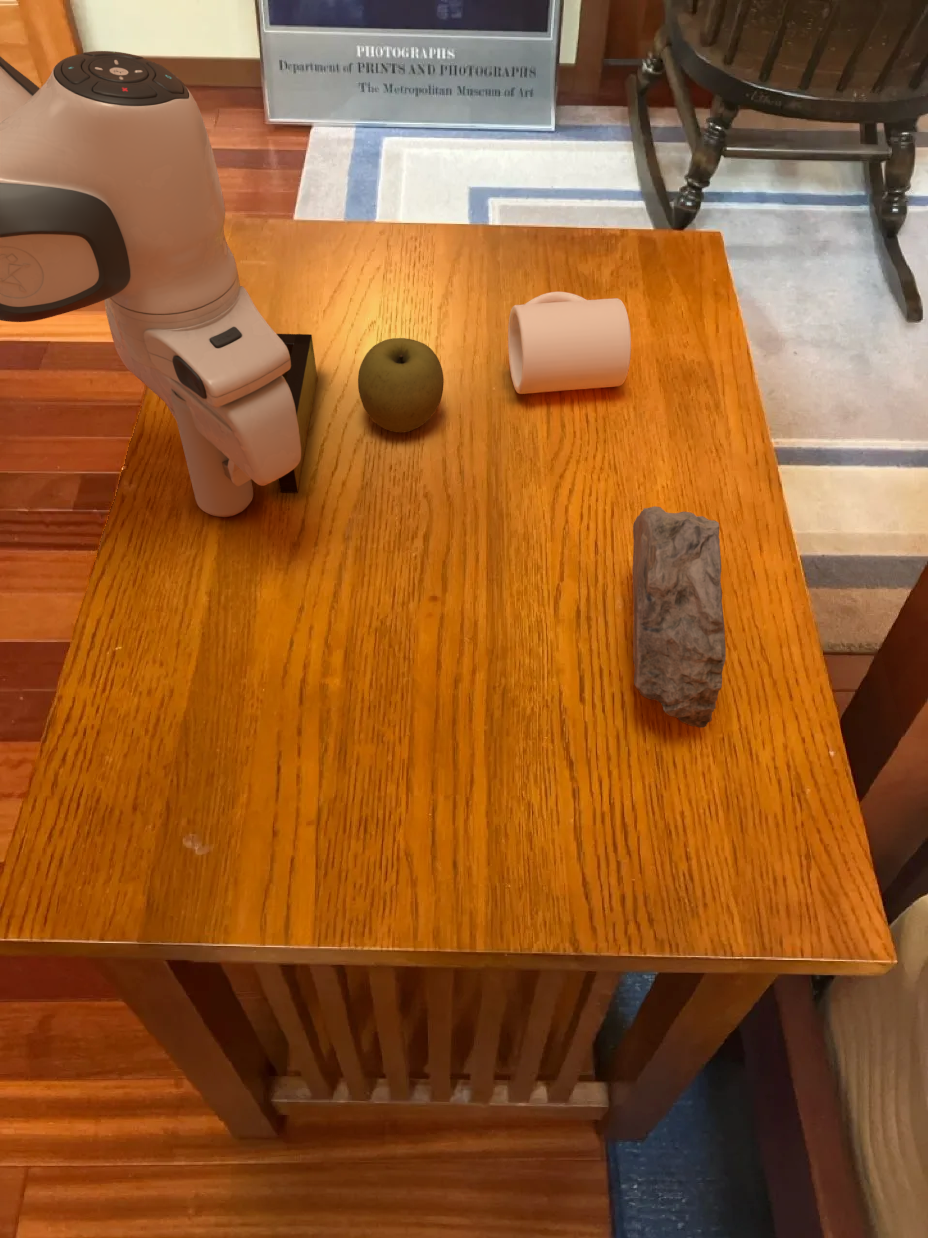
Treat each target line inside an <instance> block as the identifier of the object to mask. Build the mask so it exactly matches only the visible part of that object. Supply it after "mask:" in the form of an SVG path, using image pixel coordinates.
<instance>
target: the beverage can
mask: <svg viewBox="0 0 928 1238" xmlns="http://www.w3.org/2000/svg"><path fill="white" fill-rule="evenodd" d="M171 391H172V393H173V394H171V400H172V404H173V408H174V412H175V416H176V419H175V421H176V420H177V421H176V424H177V428H178V433H179V436H180V440H181V446H182V448H183V449H182V450H183V452H184V457H185V462H186V466H187V469H188V474H189V478H190V482H191V487H192V489H193V494H194V495H193V496H194V499H195V503H196V504H197V507H199V509H201V510H202V511H203V512H205V513H206V514H208V515H211V516H214V517H218V518H229V517H233V516H236V515H238V514H240V513H242V512H243V511H244V510H246V509H247V508H248V507H249V505H250V504H251V502H252V501H253V497H254V487H253V483H252V479H251V480H249V481H247V482H246V483H244V484H242V485H240V486H236V485H235V484H234V483H233V482H232V481H231V480H230V479H229V478H228V477H227V476H226V475H225V473H224V472H225V471H224V469H223V465H222V462H223V461H226V460H228V459H229V458H228V457H226V456H225V455H224V454H223V453H222V452H221V451H220V450H219V449H217V448H216V447H215V446H214V445H213V444H212V443H211V442H209V441H208V440H207V439H206V438H205V437H204V436H203V435H202V434H200V433H199V432H198V430H197V429H196V427H195V424H194V421H193V417H192V414H191V411H190V410H189V408H188V407H187V406H186V404H187V402H186V401H185V400H183V399H181V398H180V397H179V396H178V395H176V394H175V393H174V391H173V390H172V389H171Z"/></svg>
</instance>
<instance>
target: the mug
mask: <svg viewBox="0 0 928 1238" xmlns="http://www.w3.org/2000/svg"><path fill="white" fill-rule="evenodd" d="M507 326H508V327H507V348H508V349H507V350H508V351H507V352H508V362H509V363H508V364H509V371H510V376H511V381H512V385H513V388H514V391H515V392H516V393H517V394H519V395H523V394H524V395H525V394H536V393H548V392H549V393H550V392H562V391H563V392H564V391H575V390H577V391H578V390H589V389H601V388H613V387H620V386H622V385H623V384H624V383H625V381H626V380H627V377H628V373H629V370H630V365H631V356H632V335H631V334H632V333H631V324H630V318H629V315H628V311H627V308H626V306H625V304H624V302H623V301H622V300H621V299H620V298H618V297H614V298H613V297H612V298H597V299H586V298H584V297H582V296H580V295H579V294H575V293H572V292H567V291H551V292H546V293H543V294H540V295H538V296H536V297H534V298H532V299H530V300H529V301H527V302H526V303H524V304H515V305H513V306H512V307H511V310H510V312H509V318H508V325H507Z"/></svg>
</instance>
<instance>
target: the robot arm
mask: <svg viewBox="0 0 928 1238" xmlns="http://www.w3.org/2000/svg"><path fill="white" fill-rule="evenodd" d="M223 194H224V193H223V188H222V184H221V180H220V175H219V170H218V166H217V162H216V158H215V155H214V150H213V147H212V143H211V140H210V136H209V133H208V130H207V127H206V124H205V121H204V117H203V115H202V112H201V109H200V107H199V106H198V103H197V101H196V100H195V98H194V96H193V94H192V93H191V91H190V90H189V88H188V87H187V86H186V85H185V83H184V82H183V80H181V79H180V78H179V77H178V76H176V74H174V73H173V72H172V71H170V70H169V69H168V68H166V67H165V66H163V65H162V64H160V63H157V62H155V61H152V60H150V59H147V58H144V57H143V56H140V55H136V54H133V53H127V52H121V51H111V50H92V51H85V52H83V53H79V54H74V55H70V56H67V57H65V58H63V59H62V60H60V61H59V62H57V64H56V65H54V67H53V68H52V70H51V73H50V75H49V76H48V77H47V80H46V81H45V82H44V84H43V85H41V86H40V87H39V86H38V85H36V83H34V81H32V80H30V78H28V77H27V76H25V75H24V74H23V73H22V72H21V71H19V70H17V69H16V68H15V67H14V66H13V65H11V63H9V62H8V61H7V60H6V59H4V58H3V57H2V56H0V321H1V322H10V323H29V322H37V321H42V320H46V319H50V318H53V317H56V316H60V315H64V314H68V313H71V312H73V311H77V310H80V309H84V308H86V307H89V306H92V305H95V304H97V303H100V302H103V301H104V302H103V303H104V309H105V314H106V319H107V322H108V326H109V331H110V335H111V338H112V341H113V346H114V348H115V351H116V353H117V355H118V357H119V359H120V361H121V362H122V364H123V366H124V367H125V368H126V369H127V370H128V371H129V372H130V373H131V374H133V375H134V376H135V377H136V378H137V379H138V380H140V382H141V383H143V384H144V385H145V386H146V387H147V388H148V389H149V390H151V391H152V392H153V393H154V394H155V395H156V396H157V397H159V398H160V399H161V400H162V401H163V402H164V403H165V404H166V406H167V408H168V410H169V411H170V413H171V415H172V416H173V418H174V420H175V421H176V422H177V420H176V416H175V412H174V408H173V404H172V400H171V394H173V393H172V391H171V389H172V390H173V391H174V393H175V394H176V395H178V396H179V397H180V398H181V399H183V400H185V401H186V402H187V404H186V406H187V407H188V408H189V410H190V411H191V414H192V417H193V421H194V424H195V427H196V429H197V430H198V432H199V433H200V434H202V435H203V436H204V437H205V438H206V439H207V440H208V441H209V442H211V443H212V444H213V445H214V446H215V447H216V448H217V449H219V450H220V451H221V452H222V453H223V454H224V455H225V456H226V457H228V458H229V459H228V460H226V461H223V462H222V465H223V469H224V471H225V472H224V473H225V475H226V476H227V477H228V478H229V479H230V480H231V481H232V482H233V483H234V484H235V485H236V486H240V485H242V484H244V483H246V482H247V481H249V480H251V481H253V482H254V483H255V484H257V485H258V486H261V487H262V486H263V487H264V486H267V485H269V484H271V483H273V482H275V481H277V480H278V479H279V478H281V477H283V476H284V475H286V474H287V473H289V472H290V471H292V470H293V469H294V468H295V467H296V466H297V465H298V464H299V462H300V460H301V443H300V435H299V427H298V421H297V415H296V409H295V404H294V400H293V396H292V393H291V391H290V388H289V386H288V384H287V382H286V380H285V379H284V377H283V376H282V374H284V373H285V372H287V371H288V370H290V368H291V360H290V355H289V351H288V349H287V347H286V345H285V344H284V342H283V341H282V340H281V339H280V338H279V336H278V335H277V334H278V333H276V332H275V331H274V329H273V328H272V327H271V326H270V325H269V323H268V322H267V321H266V319H265V318H264V316H263V315H262V314H261V312H260V311H259V310H258V308H257V307H256V305H255V303H254V301H253V299H252V298H251V295H250V294H249V292H248V290H247V289H246V288H245V287H244V286H243V285H241V281H240V277H239V271H238V266H237V262H236V258H235V256H234V254H233V252H232V250H231V248H230V246H229V244H228V242H227V239H226V235H225V222H226V205H225V199H224V195H223Z"/></svg>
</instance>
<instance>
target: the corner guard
mask: <svg viewBox="0 0 928 1238" xmlns="http://www.w3.org/2000/svg"><path fill="white" fill-rule="evenodd" d="M276 334H277V335H278V336H279V338H280V339H281V340H282V341H283V342H284V344H285V345H286V347H287V349H288V351H289V355H290V360H291V368H290V370H288V371H287V372H285V373H284V374H282V376H283V377H284V379H285V380H286V382H287V384H288V386H289V388H290V391H291V393H292V396H293V400H294V404H295V409H296V415H297V421H298V427H299V435H300V443H301V460H300V462H299V464H298V465H297V466H296V467H295V468H294V469H293V470H292V471H290V472H289V473H287V474H286V475H284V476H283V477H281V478H279V479H277V480H278V485H279V491H280V493H298V492H299V488H300V481H301V476H302V471H303V470H302V469H303V464H304V458H305V451H306V446H307V442H308V441H307V440H308V436H309V429H310V424H311V423H310V422H311V417H312V411H313V406H314V400H315V394H316V387H317V382H318V373H317V365H316V358H315V357H316V356H315V351H314V343H313V335H312V334H310V333H309V334H307V333H306V334H305V333H276Z"/></svg>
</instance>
